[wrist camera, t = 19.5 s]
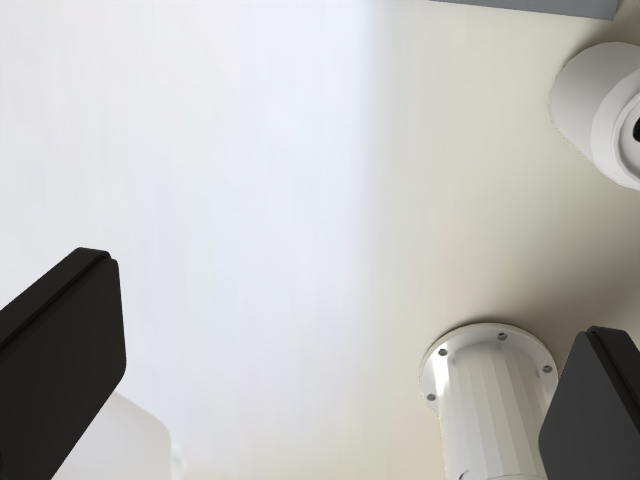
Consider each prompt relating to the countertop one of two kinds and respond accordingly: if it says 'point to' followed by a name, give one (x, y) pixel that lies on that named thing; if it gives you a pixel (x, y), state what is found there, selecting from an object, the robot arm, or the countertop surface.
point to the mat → (552, 6)
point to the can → (602, 108)
